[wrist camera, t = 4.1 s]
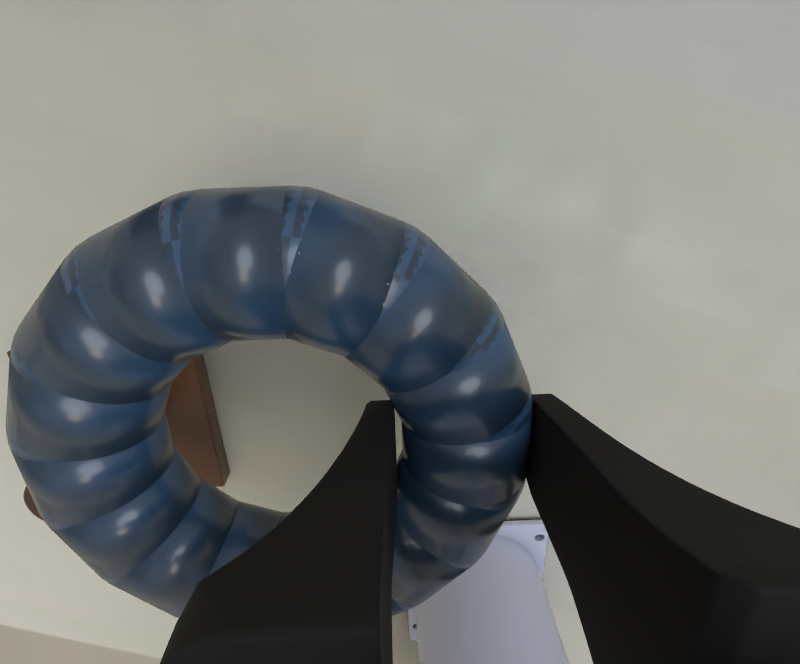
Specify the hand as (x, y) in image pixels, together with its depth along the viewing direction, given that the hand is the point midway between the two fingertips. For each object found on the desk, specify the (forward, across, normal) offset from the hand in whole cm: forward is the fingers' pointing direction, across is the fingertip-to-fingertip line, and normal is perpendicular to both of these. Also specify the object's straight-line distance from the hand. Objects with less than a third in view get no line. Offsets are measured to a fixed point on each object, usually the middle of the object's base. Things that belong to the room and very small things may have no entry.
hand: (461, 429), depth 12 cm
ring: (0, +4, 0) cm, 5 cm away
